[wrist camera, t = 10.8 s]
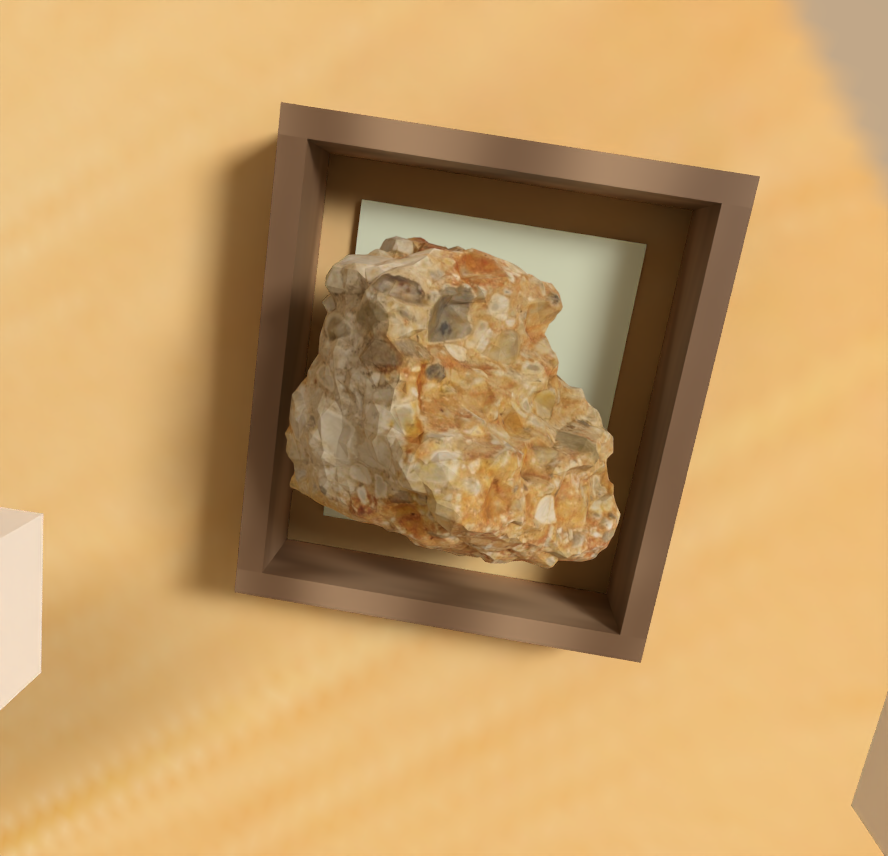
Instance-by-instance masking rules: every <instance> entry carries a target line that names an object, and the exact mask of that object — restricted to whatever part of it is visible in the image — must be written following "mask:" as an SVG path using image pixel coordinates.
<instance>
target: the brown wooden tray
mask: <svg viewBox="0 0 888 856" xmlns="http://www.w3.org/2000/svg"><path fill="white" fill-rule="evenodd" d="M330 153H331V154H337V155H344V156H350V157H357V158H363V159H369V160H376V161H382V162H388V163H395V164H401V165H408V166H414V167H420V168H427V169H433V170H439V171H446V172H452V173H459V174H465V175H471V176H478V177H484V178H490V179H497V180H503V181H510V182H516V183H522V184H529V185H535V186H541V187H548V188H554V189H561V190H567V191H573V192H580V193H586V194H592V195H599V196H605V197H612V198H618V199H624V200H631V201H637V202H644V203H650V204H656V205H663V206H669V207H675V208H682V209H688V210H693V214H692V218H691V223H690V227H689V232H688V236H687V240H686V245H685V249H684V254H683V258H682V262H681V267H680V271H679V276H678V280H677V284H676V289H675V293H674V298H673V302H672V306H671V311H670V315H669V320H668V324H667V328H666V333H665V337H664V342H663V346H662V350H661V355H660V359H659V364H658V368H657V372H656V377H655V381H654V386H653V390H652V395H651V399H650V403H649V408H648V412H647V417H646V421H645V425H644V430H643V434H642V439H641V443H640V447H639V452H638V456H637V461H636V465H635V469H634V474H633V478H632V483H631V487H630V491H629V496H628V500H627V505H626V509H625V513H624V518H623V522H622V527H621V531H620V535H619V540H618V544H617V549H616V553H615V557H614V562H613V566H612V571H611V575H610V580H609V584H608V588H607V593H606V594H604V593H598V592H592V591H586V590H581V589H575V588H569V587H563V586H557V585H551V584H546V583H540V582H534V581H528V580H522V579H516V578H511V577H505V576H499V575H493V574H487V573H481V572H476V571H470V570H464V569H458V568H452V567H446V566H441V565H435V564H429V563H423V562H417V561H411V560H406V559H400V558H394V557H388V556H382V555H376V554H371V553H365V552H359V551H353V550H347V549H341V548H336V547H330V546H324V545H318V544H312V543H306V542H301V541H295V540H289V539H287V534H288V525H289V516H290V507H291V498H292V489H293V488H291V487H290V481H291V478H292V476H293V475H294V471H295V470H294V463H293V462H292V461H291V459H290V458H289V457H288V454H287V452H286V445H287V438H286V436H285V432H286V431H287V429H288V427H289V425H290V420H289V417H290V407H291V400H292V394H293V393H294V392H295V391H296V389H297V388H298V387H299V385H300V384H301V382H302V381H303V380H304V379H305V372H306V363H307V354H308V345H309V336H310V327H311V318H312V309H313V300H314V291H315V282H316V273H317V264H318V255H319V246H320V237H321V228H322V219H323V210H324V201H325V192H326V183H327V174H328V165H329V156H330ZM759 178H760V177H759V176H753V175H747V174H740V173H734V172H727V171H721V170H714V169H708V168H701V167H695V166H689V165H682V164H676V163H669V162H663V161H656V160H650V159H643V158H637V157H631V156H624V155H618V154H611V153H605V152H598V151H592V150H585V149H579V148H573V147H566V146H560V145H553V144H547V143H540V142H534V141H527V140H521V139H515V138H508V137H502V136H495V135H489V134H482V133H476V132H470V131H463V130H457V129H450V128H444V127H437V126H431V125H424V124H418V123H412V122H405V121H399V120H392V119H386V118H379V117H373V116H366V115H360V114H354V113H347V112H341V111H334V110H328V109H321V108H315V107H308V106H302V105H296V104H289V103H283V102H281V108H280V118H279V129H278V140H277V150H276V161H275V171H274V182H273V192H272V203H271V213H270V224H269V235H268V245H267V256H266V266H265V277H264V287H263V298H262V309H261V319H260V330H259V340H258V351H257V361H256V372H255V383H254V393H253V404H252V414H251V425H250V435H249V446H248V456H247V467H246V478H245V488H244V499H243V509H242V520H241V530H240V541H239V552H238V562H237V573H236V583H235V592H237V593H243V594H249V595H255V596H260V597H266V598H272V599H278V600H283V601H289V602H295V603H301V604H306V605H312V606H318V607H324V608H329V609H335V610H341V611H347V612H352V613H358V614H364V615H370V616H375V617H381V618H387V619H393V620H398V621H404V622H410V623H416V624H421V625H427V626H433V627H439V628H444V629H450V630H456V631H462V632H467V633H473V634H479V635H485V636H490V637H496V638H502V639H508V640H513V641H519V642H525V643H531V644H537V645H542V646H548V647H554V648H560V649H565V650H571V651H577V652H583V653H588V654H594V655H600V656H606V657H611V658H617V659H623V660H629V661H634V662H640V663H641V659H642V655H643V651H644V647H645V643H646V639H647V634H648V630H649V626H650V622H651V618H652V614H653V610H654V606H655V602H656V598H657V594H658V590H659V586H660V581H661V577H662V573H663V569H664V565H665V561H666V557H667V553H668V549H669V545H670V541H671V537H672V533H673V528H674V524H675V520H676V516H677V512H678V508H679V504H680V500H681V496H682V492H683V488H684V484H685V480H686V475H687V471H688V467H689V463H690V459H691V455H692V451H693V447H694V443H695V439H696V435H697V431H698V427H699V422H700V418H701V414H702V410H703V406H704V402H705V398H706V394H707V390H708V386H709V382H710V378H711V374H712V369H713V365H714V361H715V357H716V353H717V349H718V345H719V341H720V337H721V333H722V329H723V325H724V321H725V316H726V312H727V308H728V304H729V300H730V296H731V292H732V288H733V284H734V280H735V276H736V272H737V268H738V263H739V259H740V255H741V251H742V247H743V243H744V239H745V235H746V231H747V227H748V223H749V219H750V215H751V210H752V206H753V202H754V198H755V194H756V190H757V186H758V182H759Z"/></svg>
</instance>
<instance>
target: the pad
mask: <svg viewBox="0 0 888 856" xmlns="http://www.w3.org/2000/svg"><path fill="white" fill-rule="evenodd" d="M395 236H398V237H402V238H405V239H408V238H413V237H421V238H423V239H425V240H426V241H427V242H428V243H431V244H435V245H439V246H443V247H444V246H445V247H447V248H448V249H449V248H452V247H456V246H459V247H461V248H463V249H465V250H467V249H471V248H474V249H477V250H479V251H482V252H485V253H488V254H490V255H492V256H495V257H497V258H500V259H503V260H506V261H508V262H511V263H513V264H515V265H517V266H518V267H520V268H521V269H522V270H524V271H525V272H526V273H527V274H531V275H533V276H535V277H536V278H538V279H539V280H540V281H544V282H548V283H552V284H553V286H554V287H555V288H556V290H557V291H558V292H559V294H560V298H561V302H562V305H563V308H562V310H561V311H560V312H559V313H558V314H557V316H556V318H555V319H554V320H553V321H552V322H551V323H550V324H549V326H548V328H547V330H546V332H545V336H546V337H547V339H548V341H549V343H550V346H551V348H552V350H553V351H554V352H555V353H556V355H557V358H558V361H559V365H558V371H557V375H558V376H559V377H560V378H561V379H562V380H563V381H565V382H566V383H567V384H568V385H569V386H572V387H577V388H582V390H583V392H584V395H585V399H586V401H587V402H588V403H589V404H590V405H591V406H592V407H593V408H595V409H596V410H598V412H599V414H600V416H601V419H602V424H603V427H604V428H605V429H606V430H607V428H608V423H609V418H610V414H611V409H612V404H613V400H614V395H615V390H616V386H617V381H618V376H619V372H620V367H621V363H622V358H623V353H624V349H625V344H626V339H627V335H628V330H629V325H630V321H631V316H632V311H633V307H634V302H635V297H636V293H637V288H638V283H639V279H640V274H641V269H642V265H643V260H644V255H645V251H646V246H647V244H642V243H635V242H629V241H623V240H616V239H610V238H604V237H597V236H591V235H585V234H578V233H572V232H566V231H559V230H553V229H547V228H540V227H534V226H528V225H522V224H515V223H509V222H503V221H496V220H490V219H484V218H477V217H471V216H465V215H458V214H452V213H446V212H439V211H433V210H427V209H420V208H414V207H408V206H402V205H395V204H389V203H383V202H376V201H370V200H364V199H362V203H361V211H360V219H359V227H358V235H357V243H356V252H355V254H361V255H366V254H369V253H370V252H371V251H373V250H375V249H380V247H381V245H382V243H383V241H384V240H385V239H388V238H391V237H395ZM323 515H325V516H331V517H337V518H343V519H349V520H353V519H351V518H349V517H347V516H345V515H343V514H341V513H339V512H337V511H335V510H333V509H331V508H329V507H326V506H324V512H323ZM355 521H357V520H355Z"/></svg>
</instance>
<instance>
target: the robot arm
mask: <svg viewBox="0 0 888 856" xmlns="http://www.w3.org/2000/svg"><path fill="white" fill-rule="evenodd" d="M42 567H43V514H41V513H35V512H29V511H22V510H16V509H10V508H3V507H0V710H1V709H2V708H3V707H4V706H5V705H6V704H8V703H9V702H10V701H11V700H12V699H13V698H14V697H15V696H16V695H17V694H18V693H19V692H20V691H22V690H23V689H24V688H25V687H26V686H27V685H28V684H29V683H30V682H31V681H32V680H33V679H35V678H36V677H37V676H38V675H39V674H40V673H41V645H42ZM851 806H852V807H853V809H854V810H855V812H856V813H857V815H858V816H859V818H860V819H861V821H862V822H863V824H864V825H865V827H866V828H867V830H868V831H869V833H870V834H871V836H872V837H873V839H874V840H875V842H876V843H877V845H878V846H879V848H880V849H881V851H882V853H883V854H884V856H888V693H887V696H886V699H885V702H884V705H883V708H882V712H881V715H880V718H879V721H878V724H877V727H876V730H875V733H874V736H873V739H872V742H871V745H870V749H869V752H868V755H867V758H866V761H865V764H864V767H863V770H862V773H861V776H860V779H859V782H858V786H857V789H856V792H855V795H854V798H853V801H852V804H851Z"/></svg>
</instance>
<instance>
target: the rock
mask: <svg viewBox="0 0 888 856" xmlns="http://www.w3.org/2000/svg"><path fill="white" fill-rule="evenodd" d="M325 286H326V287H327V289H328V290H329V292H330V294H329V295H328V296H327V297H325V299H324V300H323V302H322V303H323V305H324V307H325V308H326V310H327V312H328V313H327V315H326V317H325V320H324V323H323V327H322V330H321V333H320V337H319V354H318V355H317V357H316V358H315V360H314V361H313V363H312V364H311V366H310V368H309V370H308V373H307V377H306V378H305V379H304V380H303V381H302V382H301V384H300V385H299V387H298V388H297V389H296V391H295V392H294V393H293V394H292V400H291V407H290V417H289V420H290V425H289V427H288V429H287V431H286V432H285V436H286V438H287V445H286V452H287V454H288V457H289V458H290V459H291V461H292V462H293V463H294V470H295V474H294V475H293V476H292V478H291V481H290V487H291V488H294V489H296V490H298V491H300V492H301V493H302V494H304V495H307V496H308V497H310V498H312V499H313V500H315V501H316V502H318V503H319V504H321V505H324V506H326V507H329V508H331V509H333V510H335V511H337V512H339V513H341V514H343V515H345V516H347V517H349V518H351V519H353V520H357V521H359V522H361V523H368V524H373V525H378V526H381V527H383V528H384V529H385V530H387V531H388V532H397V533H400V534H403V535H404V536H406V537H407V538H408V539H410V540H411V541H412V542H413V543H414V544H415V545H418V546H421V547H424V548H430V549H436V550H442V551H447V552H450V553H452V554H455V555H458V556H465V555H467V556H472V557H481V558H482V559H483V560H484V561H485V562H489V563H508V562H510V561H521V560H522V561H525V562H529V563H532V564H535V565H538V566H540V567H543V568H546V569H547V568H551V567H553V566H554V565H555V564H556V563H557V561H578V562H582V561H586V560H592V559H594V558H595V557H597V555H598V554H599V552H601V551H602V550H604V549H605V548H607V546H608V544H609V542H610V540H611V538H612V537H613V536H614V533H615V530H616V527H617V525H618V522H619V518H620V512H619V510H618V507H617V505H616V503H615V499H614V495H613V492H614V484H612V483H611V482H610V481H609V477H608V472H607V464H606V463H607V458H608V457H609V456H610V455H611V454H612V453H613V436H612V435H611V434H610V433H609V432H608V431H607V430H606V429H605V428H604V427H603V424H602V419H601V416H600V414H599V412H598V410H596V409H595V408H593V407H592V406H591V405H590V404H589V403H588V402H587V401H586V399H585V395H584V392H583V390H582V388H577V387H572V386H569V385H568V384H567V383H566V382H565V381H563V380H562V379H561V378H560V377H559V376H558V375H557V371H558V365H559V361H558V358H557V355H556V353H555V352H554V351H553V350H552V348H551V346H550V343H549V341H548V339H547V337H546V336H545V332H546V330H547V328H548V326H549V324H550V323H551V322H552V321H553V320H554V319H555V318H556V316H557V314H558V313H559V312H560V311H561V310H562V308H563V305H562V302H561V298H560V294H559V292H558V291H557V290H556V288H555V287H554V286H553V284H552V283H548V282H544V281H540V280H539V279H538V278H536V277H535V276H533V275H531V274H527V273H526V272H525V271H524V270H522V269H521V268H520V267H518V266H517V265H515V264H513V263H511V262H508V261H506V260H503V259H500V258H497V257H495V256H492V255H490V254H488V253H485V252H482V251H479V250H477V249H474V248H471V249H467V250H465V249H463V248H461V247H459V246H456V247H452V248H449V249H448V248H447V247H445V246H444V247H443V246H439V245H435V244H431V243H428V242H427V241H426V240H425V239H423V238H421V237H413V238H408V239H405V238H402V237H398V236H395V237H391V238H388V239H385V240H384V241H383V243H382V245H381V247H380V249H375V250H373V251H371V252H370V253H369V254H366V255H361V254H351V255H347V256H346V257H345V258H343V259H342V260H340V261H339V262H338V263H336V264H335V265H333V267H332V268H331V270H330V271H329V273H328V274H327V276H326V282H325Z"/></svg>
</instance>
